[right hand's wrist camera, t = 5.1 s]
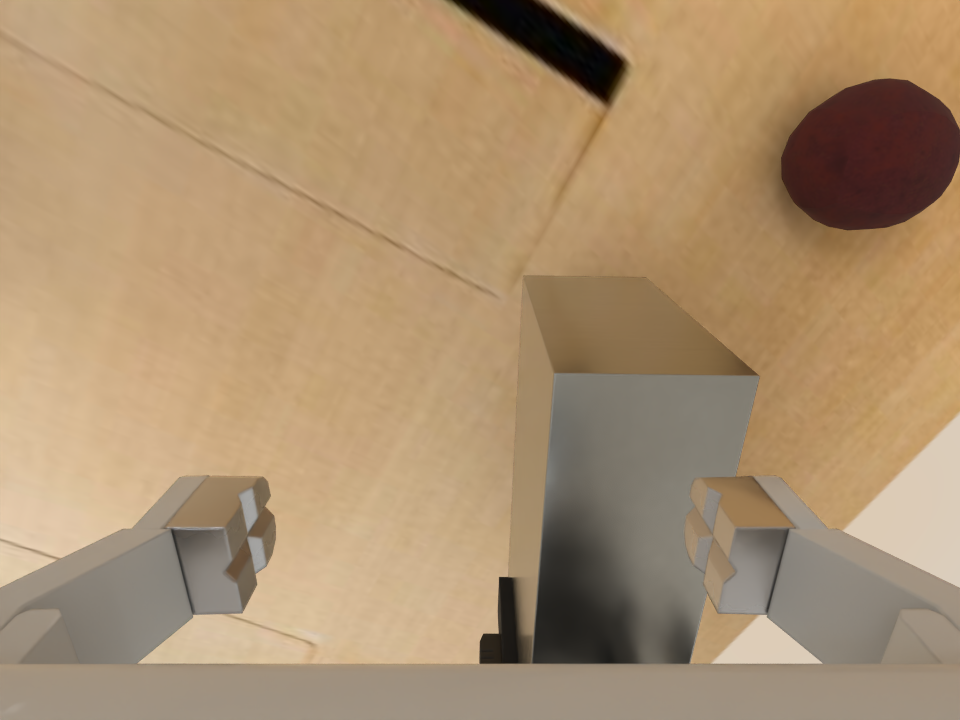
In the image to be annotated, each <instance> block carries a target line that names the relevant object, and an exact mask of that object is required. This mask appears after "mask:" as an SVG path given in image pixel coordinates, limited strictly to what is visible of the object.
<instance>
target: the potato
mask: <svg viewBox="0 0 960 720" xmlns="http://www.w3.org/2000/svg"><path fill="white" fill-rule="evenodd" d="M959 157H960V129H959V127H958V125H957V123H956V121H955V119H954V117H953V115H952V113H951V111H950V110H949V109H948V108H947V107H946V106H945V105H944V104H943V103H942V102H941V101H940V100H939V99H938V98H936V97H934V96H933V95H931V94H930V93H928V92H927V91H925V90H923V89H922V88H920V87H918V86H917V85H915V84H913V83H911V82H910V81H908V80H899V79H877V80H872V81H869V82H865V83H862V84H858V85H855V86H852V87H848V88H845V89H844V90H842V91H840V92H839V93H837V94H835V95H834V96H832V97H831V98H829V99H828V100H826V101H825V102H824V103H822V104H821V105H819V106H818V107H816V108H815V109H813V110H812V111H810V112H809V113H808V114H807V115H806V117H805V118H804V119H803V120H802V122H801V123H800V124H799V125H798V127H797V128H796V129H795V130H794V132H793V133H792V134H791V135H790V137H789V139H788V142H787V145H786V147H785V150H784V152H783V155H782V157H781V165H782V180H783V182H784V184H785V186H786V188H787V190H788V192H789V194H790V196H791V198H792V200H793V201H794V203H795V204H796V205H797V206H799V207H800V208H801V209H802V210H803V211H804V212H805V213H807V214H808V215H809V216H810V217H811V218H812V219H813V220H815V221H818V222H820V223H822V224H824V225H826V226H828V227H833V228H839V229H844V230H860V229H875V228H886V227H890V226H893V225H896V224H899V223H902V222H905V221H907V220H908V219H910V218H912V217H913V216H915V215H917V214H918V213H920V212H921V211H923V210H924V209H925V208H927V207H928V206H929V205H931V204H932V203H934V202H935V201H936V200H937V199H938V198H939V197H940V196H941V195H942V194H943V192H944V191H945V189H946V188H947V187H948V185H949V184H950V182H951V181H952V178H953V176H954V173H955V171H956V168H957V166H958V163H959Z"/></svg>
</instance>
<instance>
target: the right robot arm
mask: <svg viewBox="0 0 960 720" xmlns="http://www.w3.org/2000/svg"><path fill="white" fill-rule="evenodd" d="M270 497H271V494H270V490H269V485H268V481H267V480H266V479H265V478H264V477H253V476H209V475H202V476H183V477H179V478H178V479H177V481H176V482H175V483H174V484H173V485H172V486H171V487H170V488H169V489H168V490H167V491H166V492H165V493H164V495H163V496H162V497H161V498H160V499H159V500H158V501H157V502H156V503H155V504H154V505H153V506H152V507H151V509H150V510H149V511H148V512H147V513H146V514H145V515H144V516H143V517H142V518H141V519H140V520H139V521H138V523H137V524H136V525H135V526H134V527H133V528H132V529H122V530H120V531H117V532H115V533H113V534H111V535H109V536H107V537H105V538H103V539H101V540H99V541H97V542H95V543H92V544H90V545H88V546H86V547H84V548H82V549H80V550H78V551H76V552H74V553H72V554H70V555H67V556H65V557H63V558H61V559H59V560H57V561H55V562H53V563H51V564H49V565H47V566H45V567H43V568H40V569H38V570H36V571H34V572H32V573H30V574H28V575H26V576H24V577H22V578H20V579H18V580H15V581H13V582H11V583H9V584H7V585H5V586H3V587H1V588H0V720H960V588H959V587H957V586H955V585H953V584H951V583H948V582H946V581H944V580H942V579H940V578H938V577H936V576H934V575H932V574H930V573H928V572H925V571H923V570H921V569H919V568H917V567H915V566H913V565H911V564H909V563H907V562H905V561H903V560H901V559H899V558H896V557H894V556H892V555H890V554H888V553H886V552H884V551H882V550H880V549H878V548H876V547H874V546H872V545H870V544H867V543H865V542H863V541H861V540H859V539H857V538H855V537H853V536H851V535H849V534H847V533H845V532H843V531H840V530H838V529H828V528H827V527H826V526H825V525H824V524H823V523H822V521H821V520H820V519H819V518H818V517H817V516H816V515H815V514H814V513H813V512H812V511H811V510H810V508H809V507H808V506H807V505H806V504H805V503H804V502H803V501H802V500H801V499H800V498H799V497H798V496H797V494H796V493H795V492H794V491H793V490H792V489H791V488H790V487H789V486H788V485H787V484H786V483H785V482H784V480H783V479H782V478H780V477H778V476H775V475H765V476H746V477H696V478H694V480H693V482H692V484H691V489H690V494H689V497H690V498H691V500H692V502H693V503H694V505H695V507H694V508H693V509H692V510H691V511H690V512H689V513H688V514H687V515H686V519H685V526H684V537H685V546H686V549H687V553H688V556H689V558H690V560H691V562H692V564H693V566H694V567H695V568H697V569H698V570H700V571H701V572H703V573H704V574H705V575H704V580H703V586H704V588H705V590H706V592H707V594H708V595H709V597H710V599H711V601H712V603H713V605H714V607H715V609H716V611H717V613H722V614H758V615H767V618H769V619H770V620H771V621H772V622H773V623H775V624H776V625H777V626H778V627H780V628H781V629H782V630H783V631H784V632H786V633H787V634H788V635H789V636H791V637H792V638H793V639H794V640H795V641H797V642H798V643H799V644H800V645H801V646H803V647H804V648H805V649H806V650H808V651H809V652H810V653H811V654H812V655H814V656H815V657H816V658H817V659H819V660H820V661H821V662H822V663H823V664H137V663H138V662H139V661H140V660H142V659H143V658H144V657H145V656H147V655H148V654H149V653H150V652H151V651H153V650H154V649H155V648H156V647H158V646H159V645H160V644H161V643H162V642H164V641H165V640H166V639H167V638H168V637H170V636H171V635H172V634H173V633H175V632H176V631H177V630H178V629H179V628H181V627H182V626H183V625H184V624H186V623H187V622H188V621H189V620H190V619H192V618H193V615H202V614H236V613H243V611H244V609H245V607H246V605H247V603H248V601H249V599H250V597H251V596H252V594H253V592H254V590H255V588H256V586H257V580H256V575H255V574H256V573H258V572H259V571H260V570H262V569H263V568H265V567H266V566H267V564H268V562H269V560H270V558H271V556H272V553H273V549H274V544H275V540H276V525H275V518H274V515H273V514H272V513H271V512H270V511H269V510H268V509H267V508H266V507H265V505H266V503H267V502H268V500H269V498H270Z"/></svg>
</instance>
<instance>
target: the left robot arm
mask: <svg viewBox="0 0 960 720" xmlns="http://www.w3.org/2000/svg"><path fill="white" fill-rule="evenodd" d="M498 626H499V634H483V636H482V638H481V640H480V657H479V664H518V655H517V642H516V629H515V616H514V602H513V589H512V577H499V595H498Z"/></svg>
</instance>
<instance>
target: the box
mask: <svg viewBox="0 0 960 720" xmlns="http://www.w3.org/2000/svg"><path fill="white" fill-rule="evenodd" d="M759 378H760V377H759V375H758V374H757V373H755V372H754V371H753V370H752V369H751V368H750V367H749V366H747V365H746V364H745V363H744V362H743V361H742V360H741V359H739V358H738V357H737V356H736V355H735V354H734V353H732V352H731V351H730V350H729V349H728V348H727V347H726V346H724V345H723V344H722V343H721V342H720V341H719V340H717V339H716V338H715V337H714V336H713V335H712V334H711V333H709V332H708V331H707V330H706V329H705V328H704V327H703V326H701V325H700V324H699V323H698V322H697V321H696V320H694V319H693V318H692V317H691V316H690V315H689V314H688V313H686V312H685V311H684V310H683V309H682V308H681V307H680V306H678V305H677V304H676V303H675V302H674V301H673V300H671V299H670V298H669V297H668V296H667V295H666V294H665V293H663V292H662V291H661V290H660V289H659V288H658V287H657V286H655V285H654V284H653V283H652V282H651V281H650V280H648V279H647V278H646V277H591V276H529V275H524V276H523V287H522V307H521V327H520V347H519V367H518V387H517V407H516V427H515V448H514V468H513V488H512V508H511V528H510V548H509V568H508V577H512V589H513V602H514V616H515V629H516V642H517V655H518V664H690V662H691V658H692V653H693V649H694V645H695V641H696V637H697V633H698V629H699V625H700V621H701V616H702V612H703V608H704V604H705V600H706V596H707V592H706V590H705V588H704V586H703V580H704V575H705V574H704V573H703V572H701V571H700V570H698V569H697V568H695V567H694V566H693V564H692V562H691V560H690V558H689V556H688V553H687V549H686V546H685V537H684V526H685V519H686V515H687V514H688V513H689V512H690V511H691V510H692V509H693V508H694V507H695V505H694V503H693V502H692V500H691V498H690V497H689V494H690V489H691V484H692V482H693V480H694V478H696V477H736V472H737V468H738V464H739V460H740V456H741V452H742V448H743V444H744V439H745V435H746V431H747V427H748V423H749V419H750V415H751V411H752V407H753V402H754V398H755V394H756V390H757V386H758V382H759Z"/></svg>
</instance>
